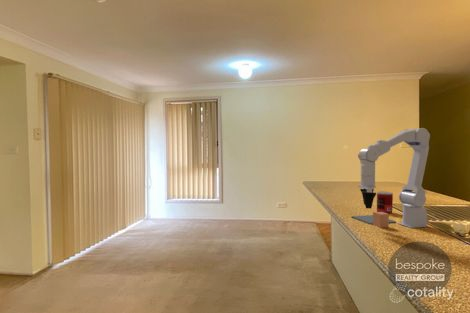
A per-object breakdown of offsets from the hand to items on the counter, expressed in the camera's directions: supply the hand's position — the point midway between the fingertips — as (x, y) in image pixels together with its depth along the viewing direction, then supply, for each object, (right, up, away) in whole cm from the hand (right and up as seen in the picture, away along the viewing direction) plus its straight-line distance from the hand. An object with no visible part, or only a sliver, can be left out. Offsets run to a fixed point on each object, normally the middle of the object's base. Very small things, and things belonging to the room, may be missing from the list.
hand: (367, 206), depth 131 cm
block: (+8, -10, +4) cm, 13 cm away
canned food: (+23, -9, +32) cm, 41 cm away
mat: (+9, -9, +15) cm, 20 cm away
